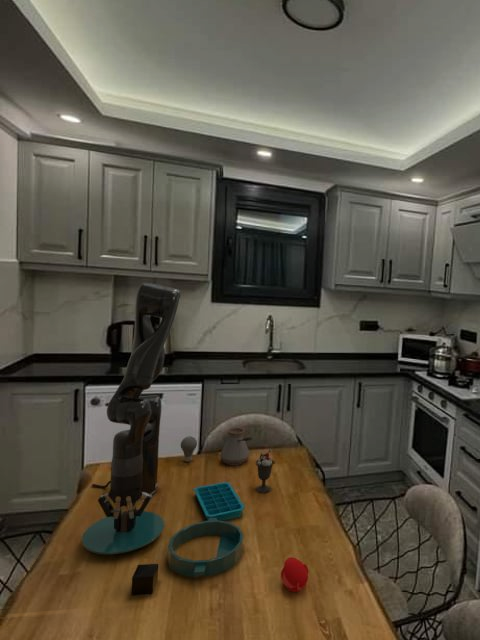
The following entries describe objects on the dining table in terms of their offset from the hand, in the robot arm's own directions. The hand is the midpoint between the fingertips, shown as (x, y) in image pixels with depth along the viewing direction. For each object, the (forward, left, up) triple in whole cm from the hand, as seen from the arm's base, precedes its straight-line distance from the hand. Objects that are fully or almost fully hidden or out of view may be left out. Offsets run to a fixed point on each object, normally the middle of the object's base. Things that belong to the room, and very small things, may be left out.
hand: (124, 529), depth 119 cm
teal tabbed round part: (+23, -8, -4) cm, 24 cm away
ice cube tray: (+23, +17, -4) cm, 28 cm away
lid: (0, 0, -1) cm, 1 cm away
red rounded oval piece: (+46, -22, -4) cm, 51 cm away
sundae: (+37, +28, -4) cm, 46 cm away
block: (+11, -20, -4) cm, 23 cm away
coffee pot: (+27, +48, -4) cm, 55 cm away
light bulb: (+7, +53, -4) cm, 53 cm away
